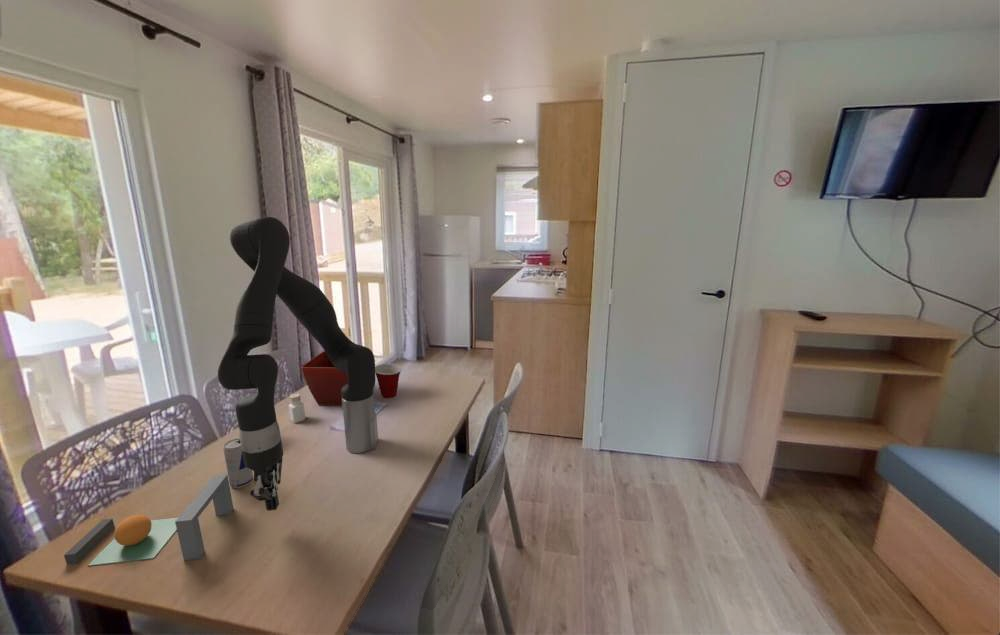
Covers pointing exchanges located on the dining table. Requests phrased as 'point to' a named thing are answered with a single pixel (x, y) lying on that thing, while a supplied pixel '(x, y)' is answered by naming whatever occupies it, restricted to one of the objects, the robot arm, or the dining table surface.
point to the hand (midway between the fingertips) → (273, 507)
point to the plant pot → (324, 380)
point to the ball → (133, 530)
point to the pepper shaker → (296, 409)
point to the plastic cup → (388, 379)
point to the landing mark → (139, 545)
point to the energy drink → (236, 465)
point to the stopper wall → (89, 542)
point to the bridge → (189, 518)
